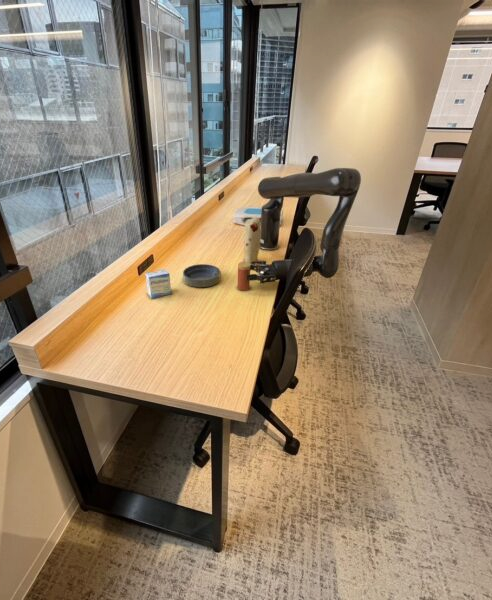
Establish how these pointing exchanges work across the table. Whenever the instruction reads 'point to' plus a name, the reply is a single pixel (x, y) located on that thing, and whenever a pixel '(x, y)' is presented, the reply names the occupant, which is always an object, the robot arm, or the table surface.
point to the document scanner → (249, 214)
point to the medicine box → (158, 283)
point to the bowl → (201, 275)
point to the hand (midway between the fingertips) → (244, 272)
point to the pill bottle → (243, 276)
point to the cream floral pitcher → (251, 239)
